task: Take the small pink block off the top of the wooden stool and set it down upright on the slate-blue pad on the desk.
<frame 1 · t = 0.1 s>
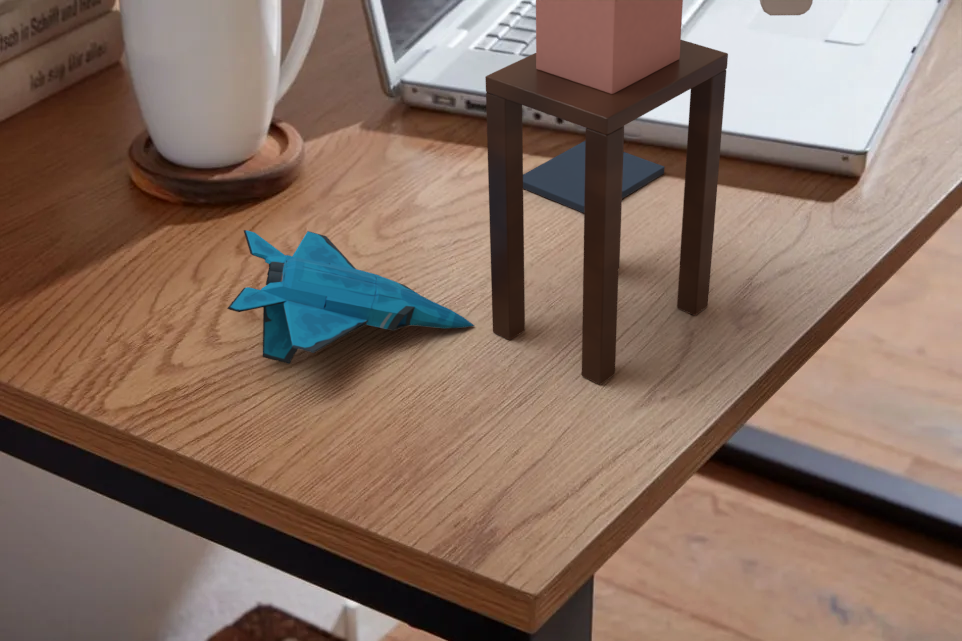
pink block: (608, 64, 61), point 14 cm above the table, touching wooden stool
toy airplane: (339, 342, 68), on the table
wooden stool: (601, 319, 69), on the table
mat: (590, 179, 81), on the table
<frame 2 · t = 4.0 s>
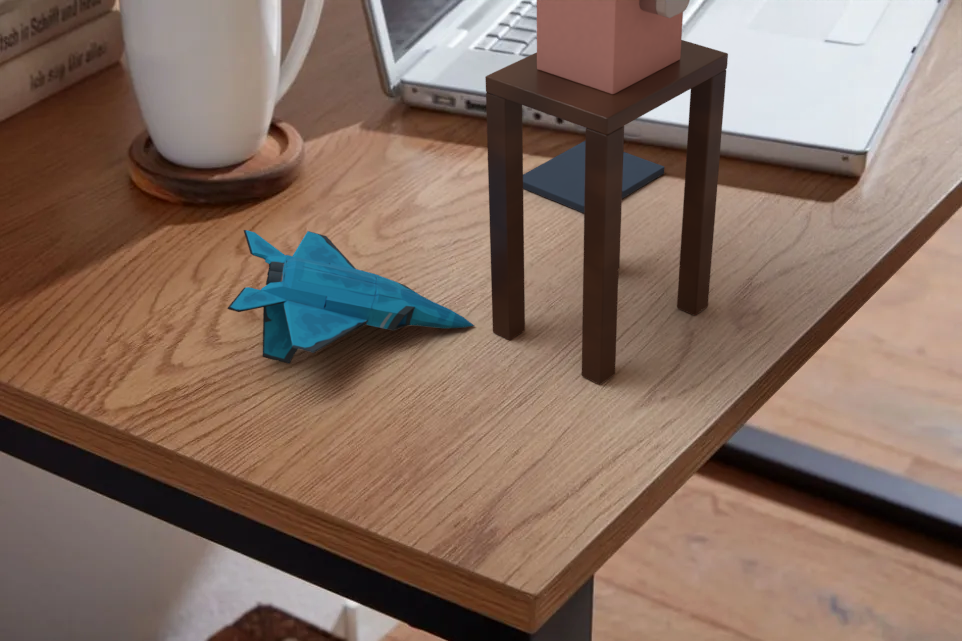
pink block: (608, 64, 61), point 14 cm above the table, touching gripper, wooden stool
everything else where it was.
when the fingers open (3 cm above the table, at t = 11.3 s): pink block stays where it is, resting on mat.
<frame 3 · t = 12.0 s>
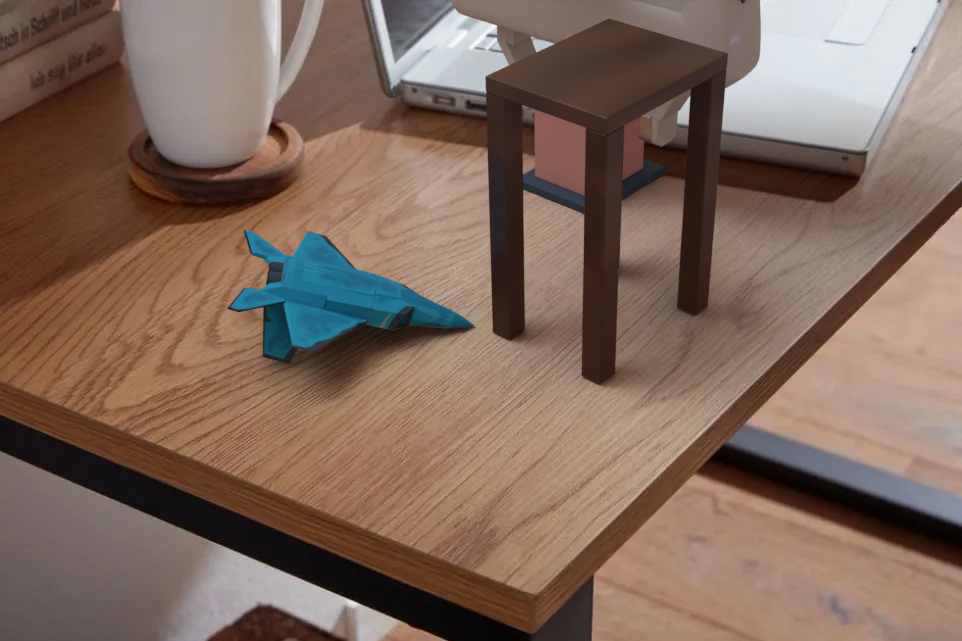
hand: (592, 117, 79), 4 cm above the table, tool pointing down, fingers open, 8 cm apart
pink block: (589, 172, 81), resting on mat
everything else where it was.
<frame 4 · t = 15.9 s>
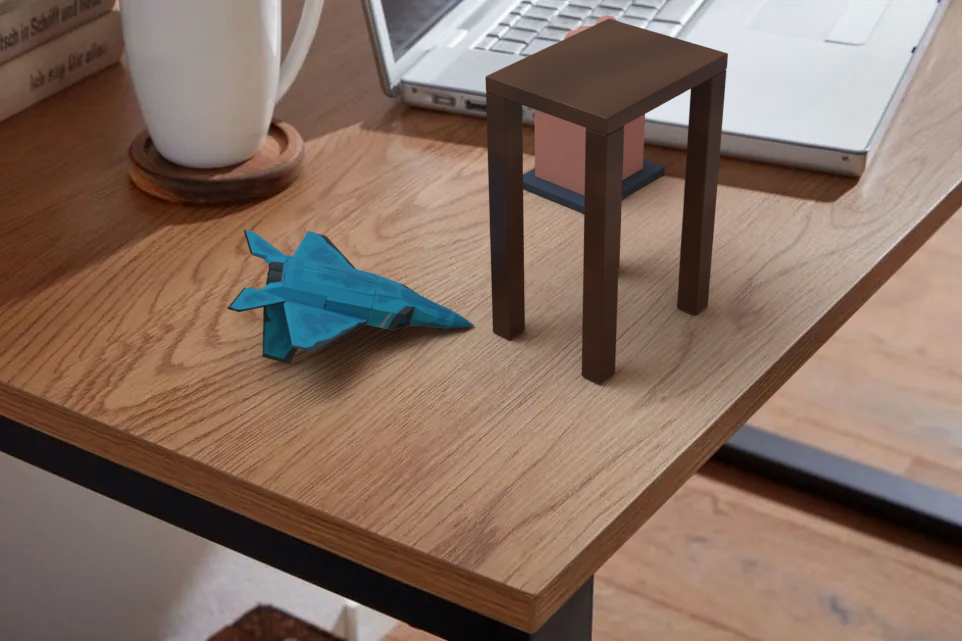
nothing on the table moved.
at the end: pink block inside the target area on the mat (0.1 cm from its centre), point 0.5 cm above the mat's base; pink block tilted 0° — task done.
